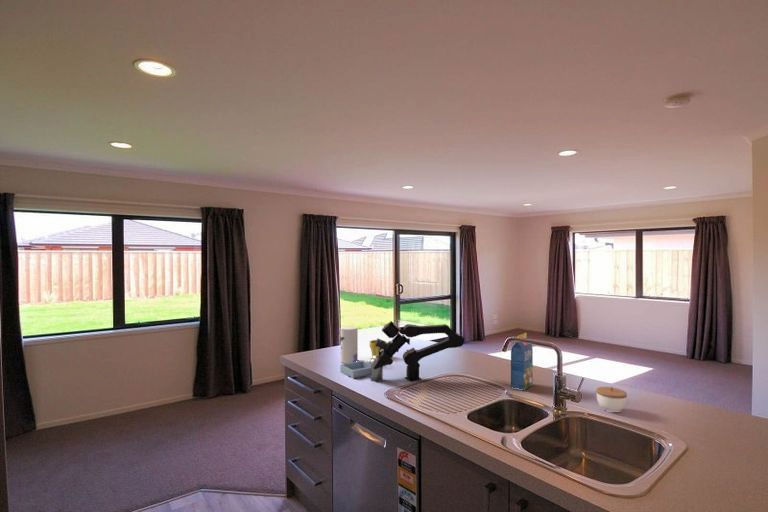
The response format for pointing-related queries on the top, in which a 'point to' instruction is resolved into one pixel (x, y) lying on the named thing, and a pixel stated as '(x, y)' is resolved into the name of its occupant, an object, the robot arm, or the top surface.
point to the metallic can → (376, 370)
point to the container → (349, 344)
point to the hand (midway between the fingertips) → (373, 366)
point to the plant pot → (374, 348)
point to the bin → (356, 369)
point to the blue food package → (521, 364)
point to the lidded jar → (611, 398)
